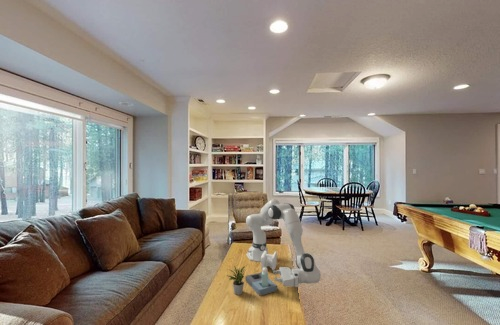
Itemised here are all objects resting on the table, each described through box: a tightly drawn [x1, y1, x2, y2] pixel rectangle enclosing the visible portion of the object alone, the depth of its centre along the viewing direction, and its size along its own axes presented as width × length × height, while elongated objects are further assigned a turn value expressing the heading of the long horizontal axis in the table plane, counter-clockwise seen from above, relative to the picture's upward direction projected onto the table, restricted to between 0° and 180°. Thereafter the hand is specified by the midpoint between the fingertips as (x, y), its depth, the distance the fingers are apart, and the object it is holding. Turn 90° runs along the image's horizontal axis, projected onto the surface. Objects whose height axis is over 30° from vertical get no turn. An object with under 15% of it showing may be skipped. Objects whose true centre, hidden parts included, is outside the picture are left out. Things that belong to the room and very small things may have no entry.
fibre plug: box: [261, 267, 269, 288], centre depth 157 cm, size 4×4×14 cm
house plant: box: [226, 265, 247, 296], centre depth 155 cm, size 14×14×16 cm
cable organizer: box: [260, 250, 278, 272], centre depth 191 cm, size 15×11×12 cm
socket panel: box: [244, 271, 278, 296], centre depth 162 cm, size 21×13×4 cm, turn 25°
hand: (273, 275), depth 157 cm, fingers open, 8 cm apart
